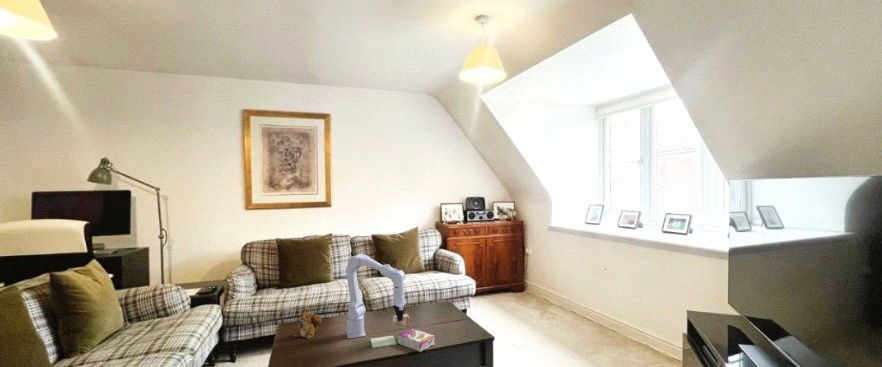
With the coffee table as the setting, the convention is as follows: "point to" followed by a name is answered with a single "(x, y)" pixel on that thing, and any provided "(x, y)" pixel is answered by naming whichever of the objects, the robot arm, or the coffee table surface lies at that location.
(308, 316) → the stuffed squirrel
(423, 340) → the candy bar box
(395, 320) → the wooden t-shaped block
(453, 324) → the coffee table surface
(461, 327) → the coffee table surface
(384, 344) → the board
